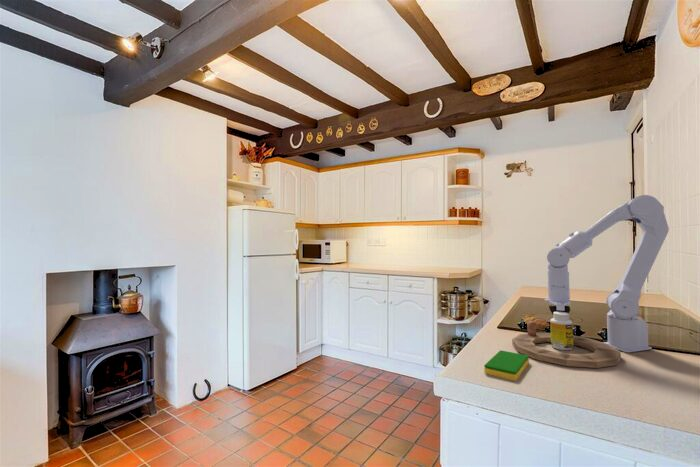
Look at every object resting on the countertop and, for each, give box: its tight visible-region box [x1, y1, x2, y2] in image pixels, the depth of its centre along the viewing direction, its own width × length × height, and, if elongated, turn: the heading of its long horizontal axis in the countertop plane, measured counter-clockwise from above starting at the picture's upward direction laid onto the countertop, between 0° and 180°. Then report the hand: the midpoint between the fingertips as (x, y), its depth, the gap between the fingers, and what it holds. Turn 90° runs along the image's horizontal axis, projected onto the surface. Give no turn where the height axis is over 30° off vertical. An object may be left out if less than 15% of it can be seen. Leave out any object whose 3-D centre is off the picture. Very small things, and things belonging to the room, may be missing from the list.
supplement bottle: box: [549, 312, 574, 351], centre depth 98 cm, size 6×6×10 cm
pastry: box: [521, 315, 551, 331], centre depth 120 cm, size 9×7×4 cm
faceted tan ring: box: [511, 321, 622, 369], centre depth 95 cm, size 25×25×6 cm
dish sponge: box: [483, 349, 530, 381], centre depth 84 cm, size 7×14×2 cm, turn 141°
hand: (560, 329), depth 105 cm, fingers closed
